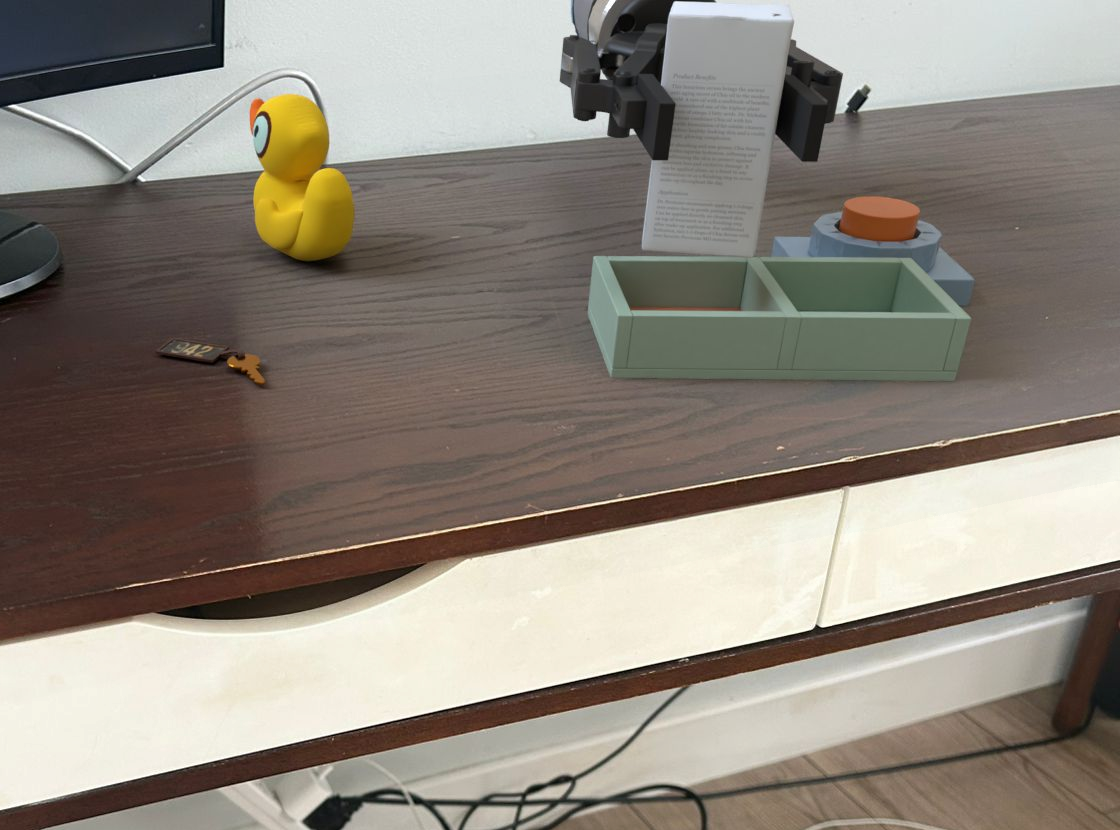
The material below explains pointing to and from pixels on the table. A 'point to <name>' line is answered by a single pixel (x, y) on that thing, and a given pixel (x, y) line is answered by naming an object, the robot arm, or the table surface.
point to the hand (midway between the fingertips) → (739, 132)
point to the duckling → (298, 181)
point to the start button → (879, 219)
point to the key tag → (213, 355)
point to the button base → (882, 252)
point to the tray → (774, 318)
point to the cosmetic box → (717, 127)
